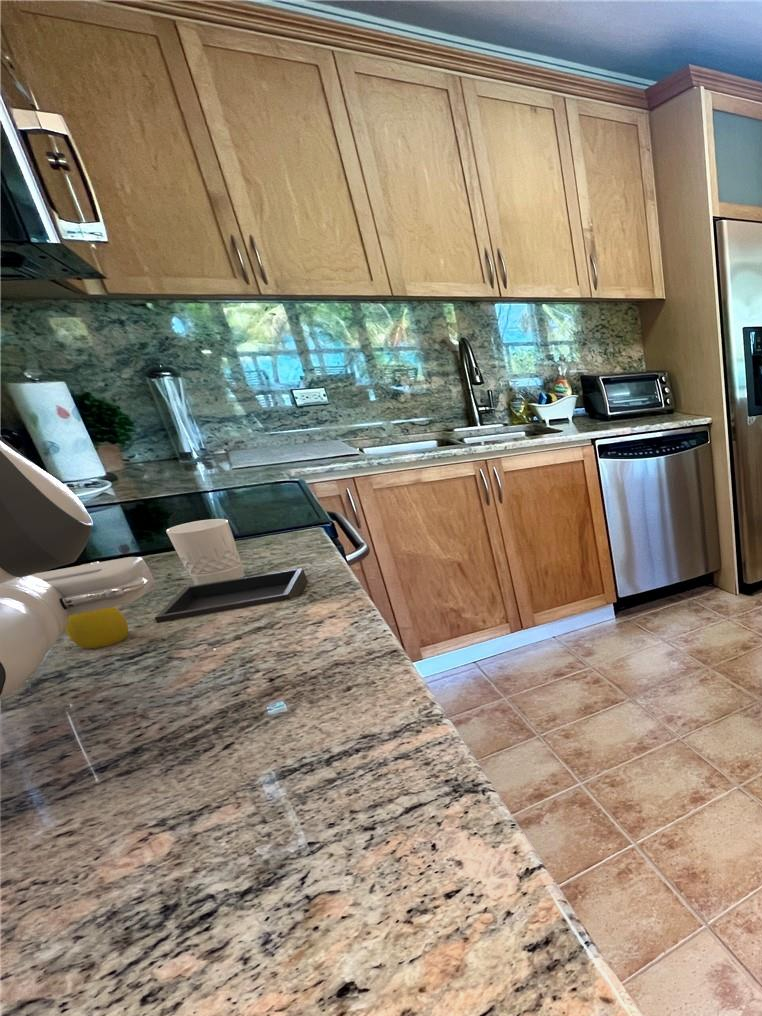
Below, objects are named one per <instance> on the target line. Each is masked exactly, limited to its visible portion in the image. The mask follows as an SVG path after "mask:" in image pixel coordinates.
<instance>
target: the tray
mask: <svg viewBox="0 0 762 1016" xmlns="http://www.w3.org/2000/svg"><path fill="white" fill-rule="evenodd" d="M307 584H308V578H307V576H306V573H305V570H304V567H300V568H294V569H289V570H282V571H275V572H270V573H264V574H256V575H251V576H245V577H243V578H237V579H231V580H225V581H219V582H212V583H206V584H200V585H195V584H194V585H188V586H187V585H186V586H184V587H183V588H182V589H181V590H180V591H179V592H178V593H176V595H175V596H174V597H173V598H172V599H171V600H170V601H169V602H168V603H167V604H166V605H165V606H164V607H163V608H162V609H161V610H160V611H159V612H158V613H157V614H156V616H154V620H155V621H156V623H157V624H158V623H163V622H169V621H175V620H181V619H182V620H183V619H186V618H187V619H188V618H192V617H198V616H203V615H204V616H205V615H210V614H214V613H220V612H226V611H232V610H237V609H243V608H249V607H256V606H260V605H267V604H273V603H279V602H284V601H289V600H291V599H295V598H300V597H301V595H302V594H303V592H304V590H305V588H306V586H307Z"/></svg>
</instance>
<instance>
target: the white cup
mask: <svg viewBox="0 0 762 1016" xmlns="http://www.w3.org/2000/svg"><path fill="white" fill-rule="evenodd" d="M165 532H166V534H167V536H168V538H169V541H170V542H171V544H172V546H173V548H174V550H175V552H176V553H177V555H178V557H179V559H180V561H181V563H182V565H183V567H184V569H185V571H186V572H187V573H188V574H189V576H190V578H191V580H192V582H193V584H194V585H200V584H206V583H212V582H219V581H225V580H231V579H237V578H244V577H246V574H245V572H244V569H243V566H242V563H241V561H242V559H241V557H240V553H239V550H238V549H237V544H236V541H235V538H234V535H233V532H232V529H231V526H230V523H229V521H228V520H227V519H225V518H212V519H211V518H210V519H202V520H201V519H200V520H195V521H191V522H186V523H181V524H178V525H174V526H171V527H169V528H167V529H166V531H165Z"/></svg>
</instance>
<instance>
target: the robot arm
mask: <svg viewBox="0 0 762 1016" xmlns="http://www.w3.org/2000/svg"><path fill="white" fill-rule="evenodd" d="M93 526H94V521H93V519H92V517H91V515H90V514H89V512H88V510H87V508H86V507H85V505H84V504H83V502H82V501H81V500H80V499H79V498H78V497H77V495H76V494H75V493H74V492H73V491H71V490H70V488H69V487H67V486H66V485H65V484H63V483H62V482H61V481H60V480H58V479H57V478H55V477H54V476H52V475H51V474H50V473H48V472H47V471H46V470H44V469H43V468H41V467H40V466H39V465H37V463H35V462H33V461H32V460H30V459H29V458H28V457H27V456H26V455H24V454H23V453H21V452H20V451H19V450H18V449H17V448H16V447H14V446H13V445H12V444H10V442H8V441H7V440H5V438H4V437H2V436H1V435H0V701H1V700H3V699H4V698H6V697H7V696H9V695H10V694H12V693H14V691H16V690H17V689H18V688H20V686H21V685H23V684H24V683H25V682H26V681H27V680H28V679H29V678H30V677H31V676H32V675H33V673H34V672H36V670H37V669H38V667H40V665H41V664H42V662H43V661H44V659H45V657H46V654H47V653H49V651H51V649H52V648H53V647H54V645H55V644H56V643H57V641H58V640H59V638H61V636H62V634H63V633H64V631H66V630H65V628H66V626H67V624H68V621H69V616H71V615H75V614H80V613H85V612H90V611H95V610H100V609H105V608H110V607H118V606H122V605H126V604H129V603H132V602H135V601H137V600H139V599H140V598H142V597H143V596H145V594H147V593H148V592H149V591H150V590H151V589H152V587H153V586H154V584H155V580H154V577H153V575H152V573H151V571H150V568H149V567H148V564H147V562H146V561H145V559H143V558H142V557H139V556H128V557H122V558H117V559H110V560H105V561H93V562H89V563H83V564H80V565H75V566H70V567H65V568H61V567H63V566H66V565H70V564H73V563H75V562H76V561H77V559H78V558H79V557H80V555H81V554H82V553H83V551H84V549H85V547H86V545H87V543H88V541H89V540H90V537H91V533H92V530H93ZM59 567H60V568H59ZM56 568H58V569H56ZM52 569H54V570H52Z"/></svg>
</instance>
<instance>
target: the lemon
mask: <svg viewBox="0 0 762 1016" xmlns="http://www.w3.org/2000/svg"><path fill="white" fill-rule="evenodd" d="M64 631H65V633H66V634H67V636H68V637H69V639H70V640H71V641H72V642H73V643H74V644H75V645H77V646H78V647H80V648H81V649H85V650H92V649H99V648H105V647H107V646H111V645H114V644H116V643H117V644H118V643H119V642H122V641H123V640H125V639H126V638H127V637H128V634H129V624H128V621H127V619H126V618H125V616H124V614H123V612H122V611H121V610H120V609H119V608H118V607H117V606H115V607H110V608H105V609H100V610H95V611H90V612H85V613H80V614H75V615H71V616H69V621H68V624H67V626H66V628H65V630H64Z"/></svg>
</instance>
